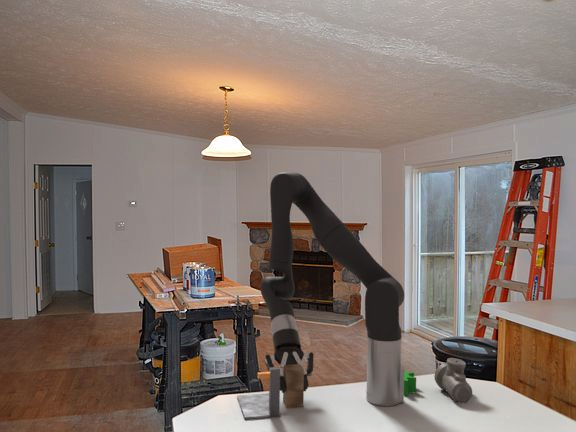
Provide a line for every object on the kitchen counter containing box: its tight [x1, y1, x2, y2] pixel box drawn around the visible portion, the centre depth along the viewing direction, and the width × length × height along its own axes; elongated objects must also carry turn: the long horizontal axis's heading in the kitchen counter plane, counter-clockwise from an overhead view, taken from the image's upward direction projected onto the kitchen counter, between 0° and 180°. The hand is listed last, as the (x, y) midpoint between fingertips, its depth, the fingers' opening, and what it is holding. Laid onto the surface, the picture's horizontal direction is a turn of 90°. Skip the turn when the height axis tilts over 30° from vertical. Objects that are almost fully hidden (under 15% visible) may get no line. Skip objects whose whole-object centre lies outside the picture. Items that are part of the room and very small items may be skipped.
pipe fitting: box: [433, 357, 473, 403], centre depth 140 cm, size 12×8×10 cm
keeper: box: [236, 366, 281, 421], centre depth 131 cm, size 9×15×12 cm, turn 13°
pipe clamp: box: [404, 370, 417, 397], centre depth 145 cm, size 11×4×5 cm, turn 173°
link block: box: [282, 364, 305, 409], centre depth 133 cm, size 4×4×10 cm
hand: (294, 390), depth 132 cm, fingers open, 5 cm apart
